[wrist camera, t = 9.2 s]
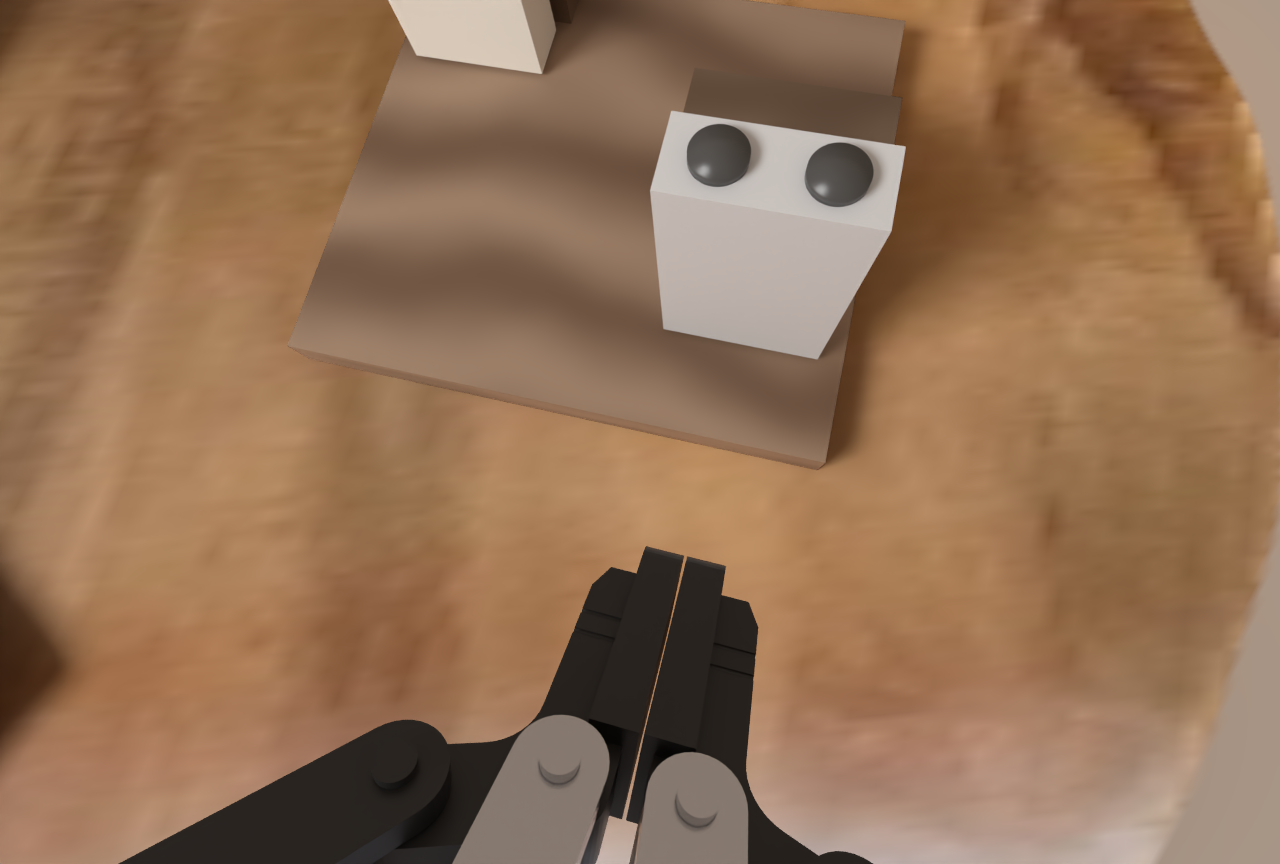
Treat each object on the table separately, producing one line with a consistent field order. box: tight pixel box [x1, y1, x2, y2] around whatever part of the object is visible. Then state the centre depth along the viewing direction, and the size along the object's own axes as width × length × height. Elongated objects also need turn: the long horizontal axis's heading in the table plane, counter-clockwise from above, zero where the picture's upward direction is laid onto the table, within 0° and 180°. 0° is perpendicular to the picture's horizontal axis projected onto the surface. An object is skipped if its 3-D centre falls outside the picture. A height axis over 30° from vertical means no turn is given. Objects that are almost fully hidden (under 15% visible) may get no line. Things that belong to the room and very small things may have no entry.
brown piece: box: [288, 0, 905, 470], centre depth 25 cm, size 20×22×6 cm
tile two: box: [650, 111, 906, 359], centre depth 20 cm, size 2×6×9 cm, turn 76°
